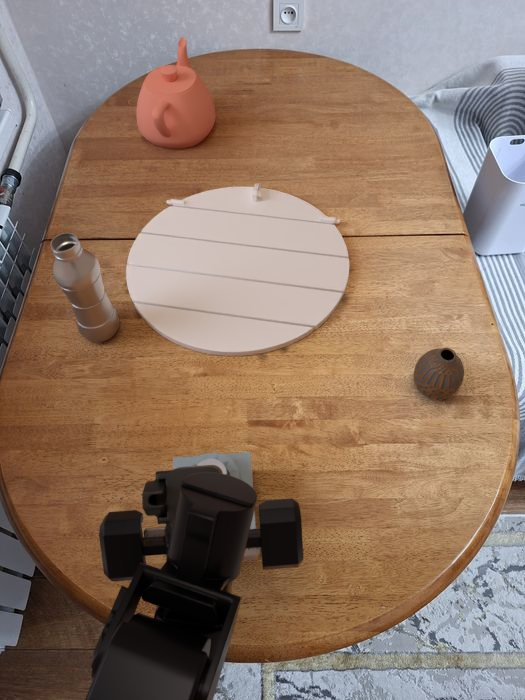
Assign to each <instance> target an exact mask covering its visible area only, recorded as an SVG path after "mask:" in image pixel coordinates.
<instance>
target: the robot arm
mask: <svg viewBox="0 0 525 700" xmlns="http://www.w3.org/2000/svg"><path fill="white" fill-rule="evenodd" d="M141 500H142V509H143V511H144V513H145V515H146V516H147V517H151V516H152V517H156V520H157V525H165V526H156V527H145V528H144V529H143V521H144V513H143V512H141V511H140V510H136V509H133V510H132V509H130V510H119V511H108V513H107V514H106V515H105V516H104V517H103V519H102V521H101V524H100V525H99V530H98V538H99V539H98V540H99V545H100V552H101V554H100V555H101V561H102V569H103V574H104V575H105V576H106V577H107V579H108V580H110V581H111V582H126V581H130V582H129V585H128V586H127V587H126V586H124V585H121V586H120V588H119V591H118V593H117V595H116V598H115V601H114V603H113V605H112V607H111V610H110V612H109V614H108V617H107V619H106V621H105V623H104V626H103V628H102V631H101V633H100V634H99V635H100V636H99V638H98V640H97V642H96V645H95V646H94V649H93V653H92V663H91V665H90V669H91V674H90V675H91V680H92V681H91V684H90V686H89V689H88V691H87V694H86V697H84V698H85V699H84V700H214V697H215V694H216V692H217V687H218V684H219V681H220V678H221V675H222V671H223V667H224V664H225V662H226V658H227V654H228V651H229V648H230V643H231V640H232V637H233V634H234V630H235V627H236V622H237V620H238V615H239V611H240V607H241V602H242V598H243V597H242V596H239V595H237V594H234V593H232V592H233V590H232V588H233V582H234V581H235V580H236V579H237V578H239V576H240V574H241V570H242V566H243V563H244V561H243V558H244V556H256V555H258V556H261V564H262V570H263V571H267V570H281V569H291V568H299V567H300V565H301V564H302V562H303V561H304V545H303V544H304V542H303V523H302V513H301V507H300V503H299V502H298V501H296V500H295V499H294V498H291V497H290V498H281V499H280V498H279V499H266V500H264V501H262V502H260V503H259V504H258V506H257V507H258V521H259V528H256V529H250V527H251V523H252V518H253V514H254V509H255V510H256V505H257V500H258V493H257V491H256V490H255V488H254V489H253V488H252V487H251V486H250V485H249V484H247V483H246V482H244V481H242V480H240V479H238V478H235V477H233V476H230V475H226V474H223V472H222V470H221V469H220V468H219V467H218V466H216V465H204V466H190V467H179V468H176V469H174V470H173V469H170V470H169V469H168V470H167V469H166V470H156V471H155V479H154V480H148V481H146V482H145V483H144V487H143V490H142V494H141ZM161 555H162V556H163V555H166V557H165V559H166V560H165V563H164V564H163V565H162V567H161V568H158V567H156V566H152V565H150V564H147V559H146V557H148V556H161ZM140 600H142V601H143V602H145V603H149V604H151V605H153V606H155V611H154V614H153V617H152V616H149V615H147V614H145V613H141V612H137V613H136V611H137V609H138V606H139V603H140Z"/></svg>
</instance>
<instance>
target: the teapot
mask: <svg viewBox="0 0 525 700" xmlns="http://www.w3.org/2000/svg"><path fill="white" fill-rule="evenodd" d="M187 47H188V45H187V39H186V37H185V36H182V37H180V38H179V40H178V43H177V55H176V56H177V57H176V65H174V64H166V65H160V66H158V67H156V68H154V69H153V70H151V71H150V72H149V73H148V74H147V75H146V77H145V78H144V81H143V83H142V85H141V88H140V91H139V94H138V98H137V102H136V123H137V128H138V131H139V133H140V135H142V137H143V138H145V139H146V140H147V142H150V143H151V144H153V145H155V146H157V147H160V148H166V149H187V148H191V147H194V146H197V145H198V144H200V143H202V141H204V139H205V138H206V137H207V136H208V135H209V134H210V132H211V131H212V129H213V127H214V125H215V124H216V123H215V122H216V119H217V118H216V117H217V113H216V108H215V103H214V101H213V97H212V95H211V92H210V90H209V88H208V87H207V85H206V84H205V82H204V81H203V80H202V78H201V77H200V76H199V74H198V73H197V72H196V71H195V70H194V69H192V67H191V63H190V61H189V56H188V49H187Z"/></svg>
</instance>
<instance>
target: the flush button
mask: <svg viewBox="0 0 525 700" xmlns="http://www.w3.org/2000/svg"><path fill="white" fill-rule="evenodd" d="M204 465H216V466H218V467H219V468H220V469H221V470H222V472H223V474H226V475H227V471H226V467H225V466H224V464H223V463H222V462H221V461H219V460H217V459H206V460H203V461H201V462H200V463H199V464H198V465H197V466H204Z"/></svg>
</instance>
